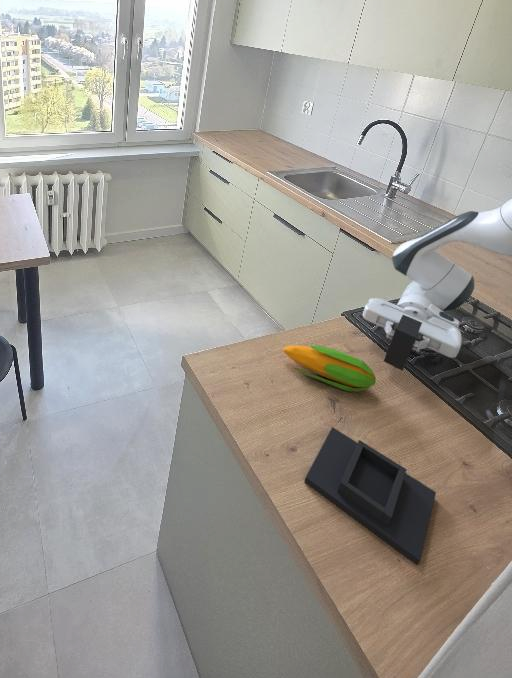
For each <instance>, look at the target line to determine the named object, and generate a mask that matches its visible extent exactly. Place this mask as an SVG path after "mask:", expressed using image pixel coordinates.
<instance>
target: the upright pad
mask: <svg viewBox="0 0 512 678" xmlns="http://www.w3.org/2000/svg"><path fill="white" fill-rule="evenodd" d="M421 325H422V322H420V321H417V320H415V319H412V318H410V317H408V316H405V315H402V317H401V319H400V321H399V324H398V326H397V328H396V330H395V332H394V335H393V338H392V340H391V339H390V340H391V341H390V343H389V345H388V348H387V351H386V354H385V357H384V359H383V363H386V364H388V365H390V366H392V367H394V368H396V369H399V370H400V371H404V369H405V366H406V363H407V361H408V359H409V356H410V354H411V353H412V350H413V349H412V347H413V344H414V342H415V339H416V337H417V334H418V332H419V330H420V327H421Z"/></svg>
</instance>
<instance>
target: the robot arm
mask: <svg viewBox="0 0 512 678" xmlns="http://www.w3.org/2000/svg"><path fill="white" fill-rule="evenodd" d="M455 242H456V243H457V242H458V243H459V242H460V243H465V244H469V245H472V246H476V247H479V248H481V249H484V250H487V251H490V252H492V253H493V254H494V253H495V254H497V255H500V256H506V257H512V198H511V199H509V200H507V201H506V202H505V203H504V204H502V205H501V206H499V207H497V208H495V209H491V210H487V211H474V210H469V211H466V212H463V213H461V214H459V215H456V216H454V217H453V218H450V219H448V220H446V221H444V222H442V223H441V224H439V225H437V226H435V227H433V228H431V229H429V230H428V231H426V232H424V233H423V234H421V235H419V236H416V237H414V238H411V239H409V240H407V241H405V242H403V243H401V244H400V245H398V247H396V249H395V250H394V252H393V253H392V255H391V262H392V265H393V268H394V270H395V271H397V272H399V273H400V274H402V275H404V276H405V277H407V278H408V279H410V280H411V282H410V283H409V284H408V285H407V287H406V288H405V289H404V291H403V293H402V294H401V297H400V299H399V300H398V302H397V304H394V303H392V302H390V301H387V300H385V299H382V298H379V297H375V298H373V297H371V298H369V300H367V303H366V304H365V306H364V309H363V311H362V312H363V313H362V318H363V319H364V320H365V321H367V322H369V323H371V324H374V325H377V326H378V327H381V328H383V330H384V331H385V333H386V335H385V338H387V339H389V340H392V338H393V335H394V332H395V330H396V328H397V326H398V324H399V321H400V319H401V317H402V315H405V316H408V317H410V318H412V319H415V320H417V321H420V322H422V325H421V327H420V330H419V332H418V334H417V337H416V339H415V342H414V344H413V347H412V349H411V350H413V351H415V352H417V353H419V352H420V350H423V349H429V350H431V351H434V352H436V353H439V354H441V355H443V356H445V357H447V358H450V359H454V358H457V356H458V354H459V353H460V350H461V347H462V341H463V339H462V333H461V332H462V331H460V329H459V327H460V321H459V320H458V319H457V318H455V317H453V316H451V315H449V314H448V313H447V312H445V311H452V310H455V309H457V308H459V307H461V306H462V305H464V304H465V303H466V302H467V301H468V300H469V299H470V297H471V296H472V295H473V292H474V290H475V279H474V276H473V274H471V273H470V272H468V271H467V270H465V269H464V268H463V267H461V266H459V264H456V263H455V262H453V261H452V260H451V259H449V258H448V257H446V256H445V255H443V254H441V253H440V252H438V251H437V250H438V249H439V248H441V247H444V246H446V245H448V244H450V243H455Z"/></svg>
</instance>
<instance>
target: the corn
mask: <svg viewBox="0 0 512 678" xmlns="http://www.w3.org/2000/svg"><path fill="white" fill-rule="evenodd" d="M283 354H284V355H286V356H287V357H288V358H289V359H291V360H292V361H293V362H295V364H297V365H299V366H301V367H303V368H305V369H307V370H309V371H311V372H313V373H315V374H317V375H319V376H317V375H314V374H312V373H309V372H306V371H304V370H302V369H300V368H297V367H293V369H294V370H295V371H298V372H300V373H301V374H304V375H306V376H309V377H311V378H313V379H316V380H317V381H320V382H323V383H326V384H328V385H329V386H333V387H335V388H337V389H340V390H343V391H345V392H363V391H364V390H365V391H366V390H367V389H370V388H372V387H373V386H374V385H376V382H377V381H376V380H377V379H376V378H377V377H376V375H375V373H374V371H373V369H372V368H371V367H370V366H369V365H368V364H367V363H366V362H365V361H364V360H363V359H359V358H357V357H355V356H353V355H350V354H348V353H345V352H343V351H340V350H338V349H335V348H331V347H328V346H321V345H313V344H312V345H310V346H307V345H292V344H291V345H288V346H285V347H283ZM320 376H322V377H320ZM323 377H324V378H323Z"/></svg>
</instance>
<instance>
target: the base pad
mask: <svg viewBox="0 0 512 678" xmlns="http://www.w3.org/2000/svg"><path fill="white" fill-rule="evenodd" d="M406 472H407V469H406V468H405V467H404V466H402V465H400V464H399V463H397V462H396V461H394V460H392V459H391V458H390V457H388V456H386V455H385V454H383V453H382V452H380V451H378V450H376V449H375V448H373V447H371V446H370V445H368V444H367V443H365V442H363V440H360V439H359V440H358V442H357V441H355V440H354V439H352V438H351V437H349V436H347V435H346V434H345V433H343V432H341V431H339V430H338V429H336V428H335V427H333V426H331V428H330V430H329V432H328V434H327V436H326V438H325V440H324V442H323V443H322V445H321V447H320V449H319V451H318V453H317V455H316V457H315V459H314V461H313V462H312V465H311V466H310V468H309V470H308V471H307V473H306V475H305V477H304V481H303V483H304V484H306V485H307V486H309V487H310V488H312V489H313V490H314V491H316V492H317V493H318V494H319V495H320V496H322V497H323V498H325V499H326V500H328V501H329V502H330V503H331V504H333V505H334V506H336V507H337V508H338V509H340V510H341V511H342V512H344V513H345V514H347V516H349V517H350V518H352V519H354V520H355V521H356V522H357V523H359V524H360V525H362V526H363V527H364V528H366V529H367V530H368V531H370V532H371V533H373V534H374V535H375V536H376V537H377V538H379V539H380V540H382V541H383V542H384V543H386V544H387V545H389V546H390V547H391V548H393V549H394V550H396V551H397V552H399V554H401V555H402V556H404V557H405V558H406V559H408V560H409V561H410V562H412V563H413V564H415V565H416V566H418V565H419V564H420V561H421V560H422V555H423V552H424V551H423V550H424V545H425V541H426V537H427V533H428V530H429V529H428V528H429V525H430V520H431V515H432V512H433V507H434V502H435V500H436V499H435V498H436V494H437V493H436V491H435V490H433V489H432V488H430V487H429V486H427V485H425V484H424V483H422V482H421V481H419V480H417V479H416V478H414V477H413V476H411V475H409V474H408V473H406Z"/></svg>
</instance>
